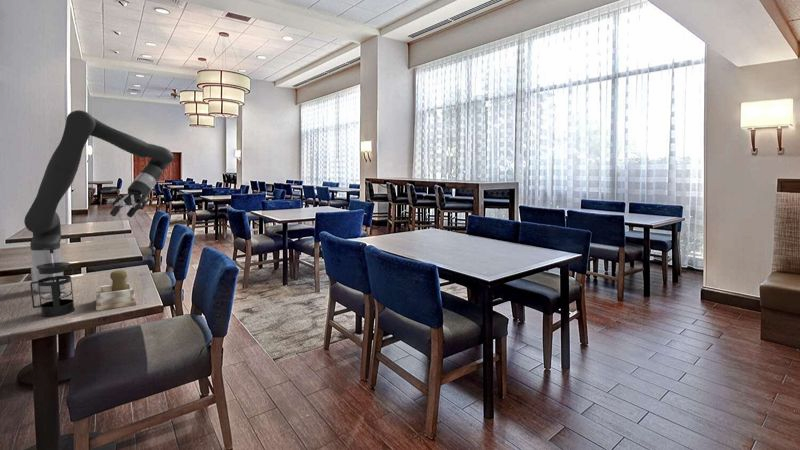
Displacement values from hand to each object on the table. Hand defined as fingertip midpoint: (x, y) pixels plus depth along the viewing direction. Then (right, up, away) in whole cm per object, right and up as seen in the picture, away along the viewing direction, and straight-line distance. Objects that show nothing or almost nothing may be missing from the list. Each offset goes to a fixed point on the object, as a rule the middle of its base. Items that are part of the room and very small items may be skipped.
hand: (120, 215), depth 170 cm
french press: (-7, -34, -23) cm, 42 cm away
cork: (+8, -32, -12) cm, 35 cm away
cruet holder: (+6, -33, -12) cm, 35 cm away
